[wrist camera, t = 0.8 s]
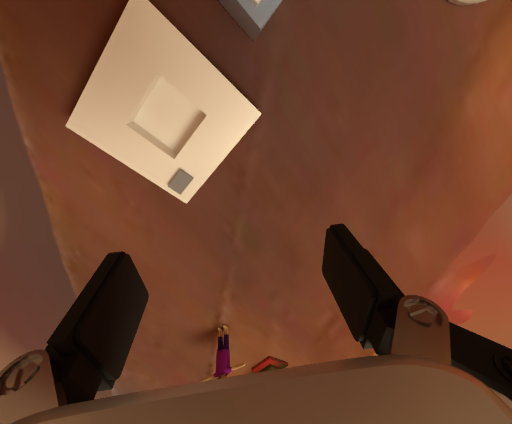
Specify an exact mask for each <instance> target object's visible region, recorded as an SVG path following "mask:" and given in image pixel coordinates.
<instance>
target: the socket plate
mask: <svg viewBox="0 0 512 424" xmlns="http://www.w3.org/2000/svg"><path fill="white" fill-rule="evenodd" d="M260 115H261V113H260V112H259V111H258V110H257V109H256V108H255V107H254V106H253V105H252V104H251V103H250V102H249V101H248V100H247V99H246V98H245V97H244V96H243V95H242V94H241V93H240V92H239V91H238V90H237V89H236V88H235V87H234V86H233V85H232V84H231V83H230V82H229V81H228V80H227V79H226V78H225V77H224V76H223V75H222V74H221V73H220V72H219V71H218V70H217V69H216V68H215V67H214V66H213V65H212V64H211V63H210V62H209V61H208V60H207V59H206V58H205V57H204V56H203V55H202V54H201V53H200V52H199V51H198V50H197V49H196V48H195V47H194V46H193V45H192V44H191V43H190V42H189V41H188V40H187V39H186V38H185V37H184V36H183V35H182V34H181V33H180V32H179V31H178V30H177V29H176V28H175V27H174V26H173V25H172V24H171V23H170V22H169V21H168V20H167V19H166V18H165V17H164V16H163V15H162V14H161V13H160V12H159V11H158V10H157V9H156V8H155V7H154V6H153V5H152V4H151V3H150V2H149V1H148V0H129V1H128V3H127V5H126V7H125V9H124V11H123V13H122V15H121V17H120V19H119V21H118V23H117V25H116V27H115V29H114V31H113V33H112V35H111V37H110V39H109V41H108V43H107V45H106V47H105V49H104V51H103V53H102V55H101V57H100V59H99V61H98V63H97V65H96V67H95V69H94V71H93V73H92V75H91V77H90V79H89V81H88V83H87V85H86V87H85V89H84V90H83V92H82V94H81V96H80V98H79V100H78V102H77V104H76V106H75V108H74V110H73V112H72V114H71V116H70V118H69V120H68V122H67V124H66V127H67V128H69V129H71V130H72V131H74V132H75V133H77V134H78V135H80V136H82V137H83V138H85V139H86V140H88V141H89V142H91V143H92V144H94V145H96V146H97V147H99V148H100V149H102V150H103V151H105V152H106V153H108V154H110V155H111V156H113V157H114V158H116V159H117V160H119V161H121V162H122V163H124V164H125V165H127V166H128V167H130V168H131V169H133V170H135V171H136V172H138V173H139V174H141V175H142V176H144V177H146V178H147V179H149V180H150V181H152V182H153V183H155V184H156V185H158V186H160V187H161V188H163V189H164V190H166V191H167V192H169V193H170V194H172V195H174V196H175V197H177V198H178V199H180V200H181V201H183V202H185V203H186V204H187V202H188V201H189V200H190V199H191V198H192V196H193V195H194V194H195V193H196V192H197V190H198V189H199V188H200V187H201V186H202V184H203V183H204V182H205V181H206V180H207V178H208V177H209V176H210V175H211V174H212V173H213V171H214V170H215V169H216V168H217V167H218V165H219V164H220V163H221V162H222V161H223V159H224V158H225V157H226V156H227V155H228V153H229V152H230V151H231V150H232V149H233V147H234V146H235V145H236V144H237V143H238V141H239V140H240V139H241V138H242V137H243V135H244V134H245V133H246V132H247V131H248V130H249V128H250V127H251V126H252V125H253V124H254V122H255V121H256V120H257V119H258V118H259V116H260Z"/></svg>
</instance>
